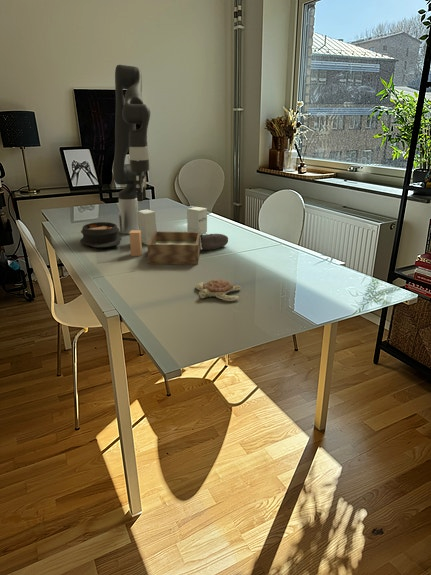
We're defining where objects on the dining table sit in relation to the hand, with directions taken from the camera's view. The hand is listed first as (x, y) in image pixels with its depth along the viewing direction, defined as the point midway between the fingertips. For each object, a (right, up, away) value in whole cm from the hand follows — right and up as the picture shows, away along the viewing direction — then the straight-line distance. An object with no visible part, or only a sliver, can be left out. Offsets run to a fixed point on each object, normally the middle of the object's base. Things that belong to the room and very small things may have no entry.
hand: (141, 199), depth 174 cm
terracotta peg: (-3, -22, +6) cm, 23 cm away
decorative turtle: (+31, -39, -32) cm, 59 cm away
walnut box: (+14, -23, +4) cm, 27 cm away
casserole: (-22, -16, +21) cm, 35 cm away
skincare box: (-1, -16, +23) cm, 28 cm away
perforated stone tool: (+30, -19, +15) cm, 39 cm away
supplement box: (+21, -9, +40) cm, 46 cm away
